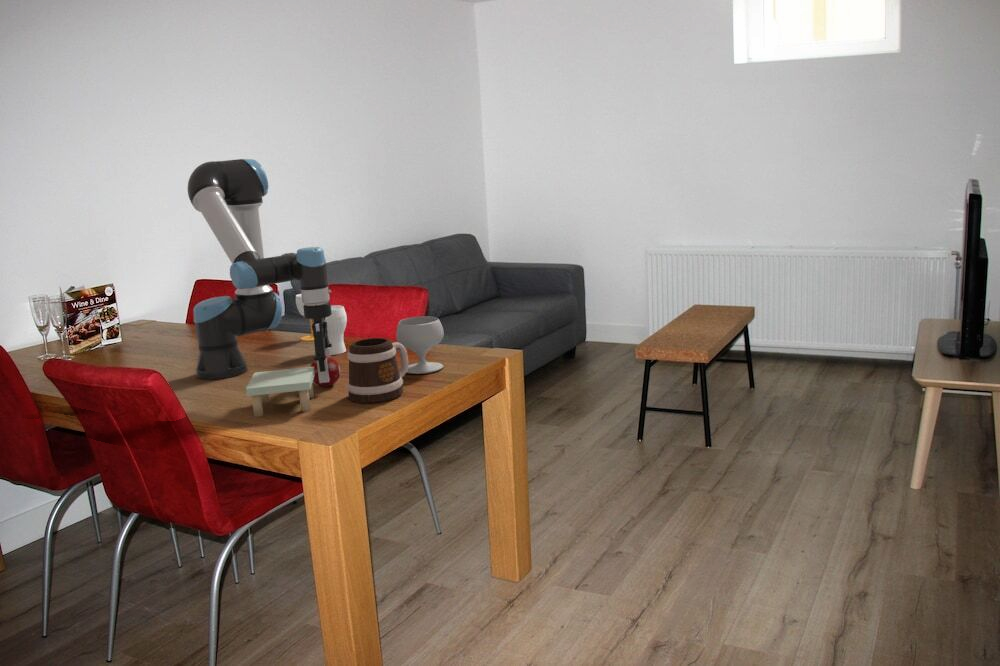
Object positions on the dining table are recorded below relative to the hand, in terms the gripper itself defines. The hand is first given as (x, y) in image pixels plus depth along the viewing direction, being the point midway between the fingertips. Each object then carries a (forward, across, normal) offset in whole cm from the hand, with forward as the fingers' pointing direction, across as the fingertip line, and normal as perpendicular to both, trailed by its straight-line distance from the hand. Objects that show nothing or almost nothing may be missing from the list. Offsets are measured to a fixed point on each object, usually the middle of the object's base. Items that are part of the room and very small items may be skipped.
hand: (326, 376), depth 242 cm
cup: (+3, +41, 0) cm, 41 cm away
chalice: (+3, +7, -28) cm, 29 cm away
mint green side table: (+3, -16, +10) cm, 19 cm away
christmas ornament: (+3, 0, 0) cm, 3 cm away
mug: (+3, -14, -16) cm, 21 cm away
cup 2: (+2, +67, +9) cm, 68 cm away
